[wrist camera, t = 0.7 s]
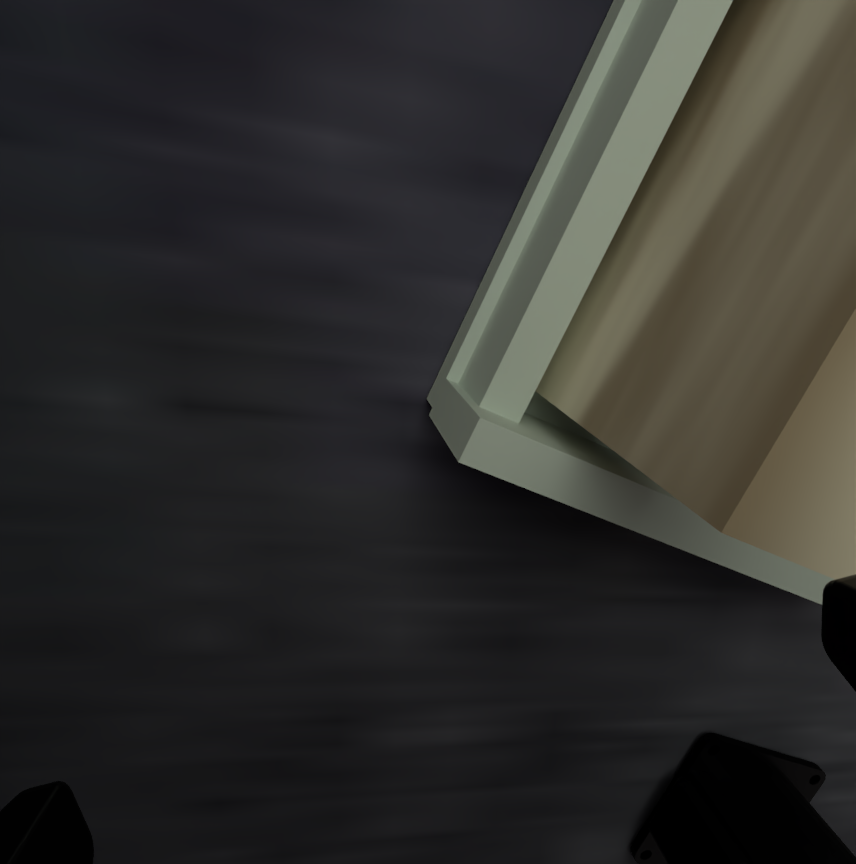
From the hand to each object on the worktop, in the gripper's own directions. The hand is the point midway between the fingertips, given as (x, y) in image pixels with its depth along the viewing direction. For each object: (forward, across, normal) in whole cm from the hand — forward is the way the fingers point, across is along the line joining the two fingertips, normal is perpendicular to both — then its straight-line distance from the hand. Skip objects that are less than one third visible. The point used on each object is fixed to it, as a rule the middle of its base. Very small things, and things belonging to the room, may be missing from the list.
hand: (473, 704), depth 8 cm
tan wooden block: (+12, -9, -4) cm, 16 cm away
